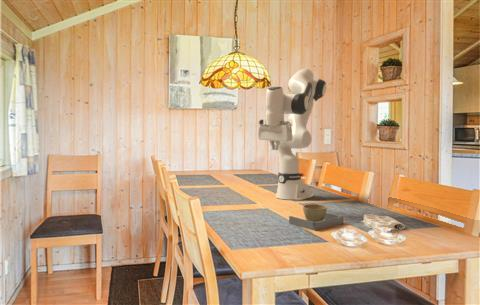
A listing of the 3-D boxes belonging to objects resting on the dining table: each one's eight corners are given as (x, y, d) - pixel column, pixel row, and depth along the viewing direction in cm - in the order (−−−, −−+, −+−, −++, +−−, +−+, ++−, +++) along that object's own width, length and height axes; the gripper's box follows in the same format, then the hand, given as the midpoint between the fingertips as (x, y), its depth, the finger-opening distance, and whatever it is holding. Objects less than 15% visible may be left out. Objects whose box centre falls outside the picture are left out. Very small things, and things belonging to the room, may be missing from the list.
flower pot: (298, 221, 165) (298, 205, 164) (317, 219, 169) (318, 203, 168) (311, 227, 156) (311, 209, 155) (331, 225, 160) (332, 208, 159)
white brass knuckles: (408, 233, 150) (372, 233, 149) (388, 221, 168) (355, 221, 167) (409, 224, 150) (372, 224, 149) (388, 213, 168) (355, 214, 167)
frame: (317, 217, 173) (317, 210, 173) (343, 223, 162) (343, 216, 162) (289, 223, 162) (289, 216, 161) (315, 230, 151) (315, 223, 151)
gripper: (295, 121, 177) (295, 151, 179) (265, 120, 193) (265, 148, 195) (285, 121, 173) (286, 152, 175) (255, 121, 189) (256, 149, 191)
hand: (274, 150), depth 185 cm, fingers closed
